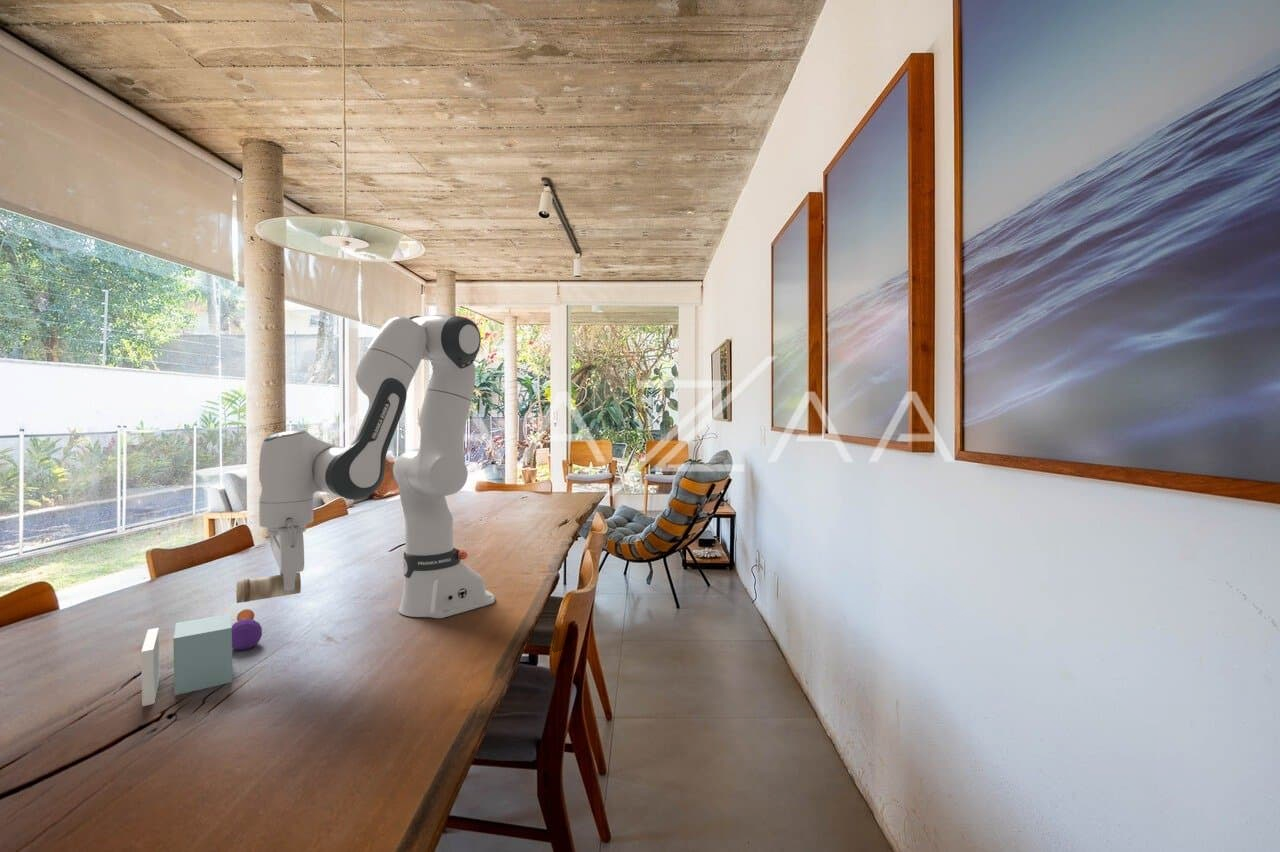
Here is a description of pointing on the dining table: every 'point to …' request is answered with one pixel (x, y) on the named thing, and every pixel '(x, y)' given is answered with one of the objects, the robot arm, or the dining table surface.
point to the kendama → (245, 631)
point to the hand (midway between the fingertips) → (287, 586)
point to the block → (202, 653)
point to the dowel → (264, 588)
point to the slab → (150, 666)
